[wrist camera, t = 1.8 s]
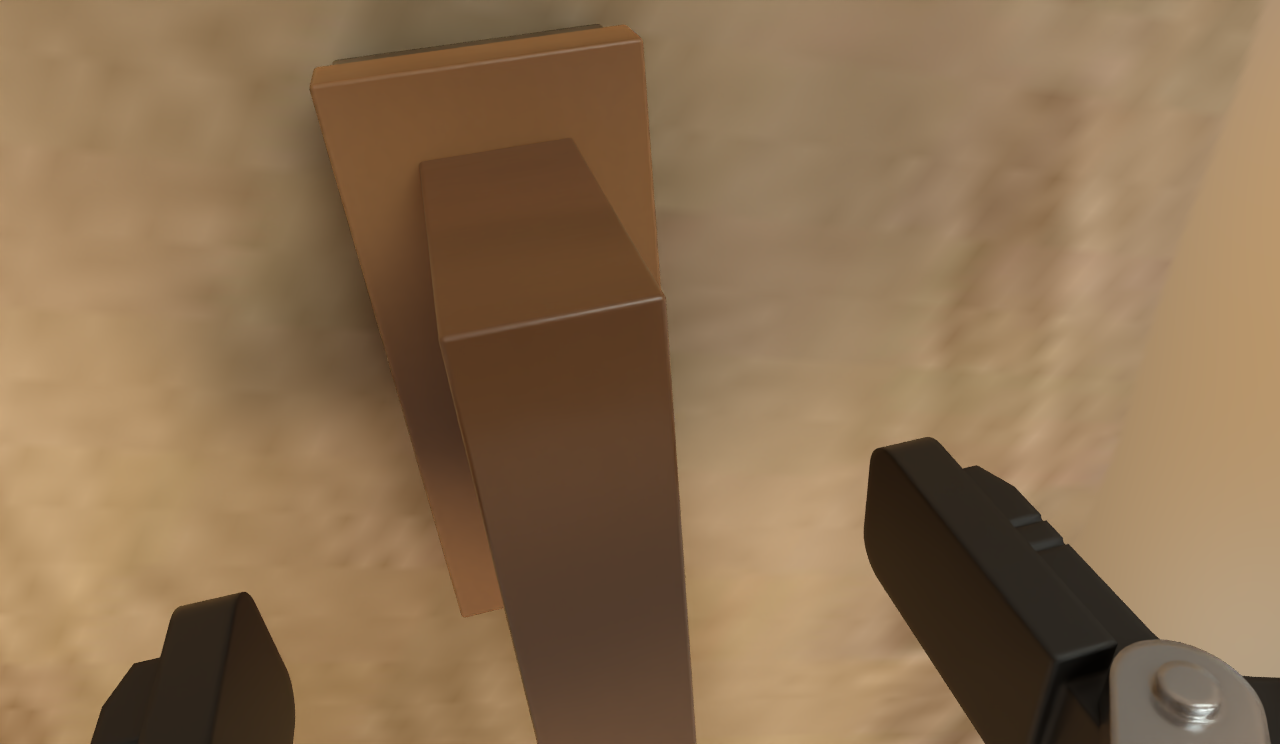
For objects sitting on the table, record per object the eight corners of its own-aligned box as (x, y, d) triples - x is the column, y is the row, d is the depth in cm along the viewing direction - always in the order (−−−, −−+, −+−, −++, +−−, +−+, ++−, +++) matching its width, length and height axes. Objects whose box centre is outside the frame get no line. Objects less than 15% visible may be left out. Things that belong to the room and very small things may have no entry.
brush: (317, 47, 13) (266, 242, 7) (609, 7, 14) (782, 155, 8) (454, 542, 19) (489, 874, 13) (653, 496, 19) (771, 790, 14)
